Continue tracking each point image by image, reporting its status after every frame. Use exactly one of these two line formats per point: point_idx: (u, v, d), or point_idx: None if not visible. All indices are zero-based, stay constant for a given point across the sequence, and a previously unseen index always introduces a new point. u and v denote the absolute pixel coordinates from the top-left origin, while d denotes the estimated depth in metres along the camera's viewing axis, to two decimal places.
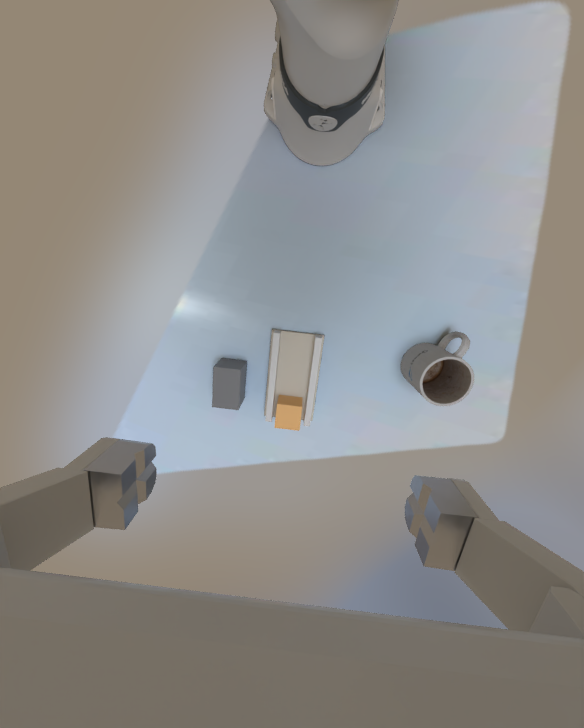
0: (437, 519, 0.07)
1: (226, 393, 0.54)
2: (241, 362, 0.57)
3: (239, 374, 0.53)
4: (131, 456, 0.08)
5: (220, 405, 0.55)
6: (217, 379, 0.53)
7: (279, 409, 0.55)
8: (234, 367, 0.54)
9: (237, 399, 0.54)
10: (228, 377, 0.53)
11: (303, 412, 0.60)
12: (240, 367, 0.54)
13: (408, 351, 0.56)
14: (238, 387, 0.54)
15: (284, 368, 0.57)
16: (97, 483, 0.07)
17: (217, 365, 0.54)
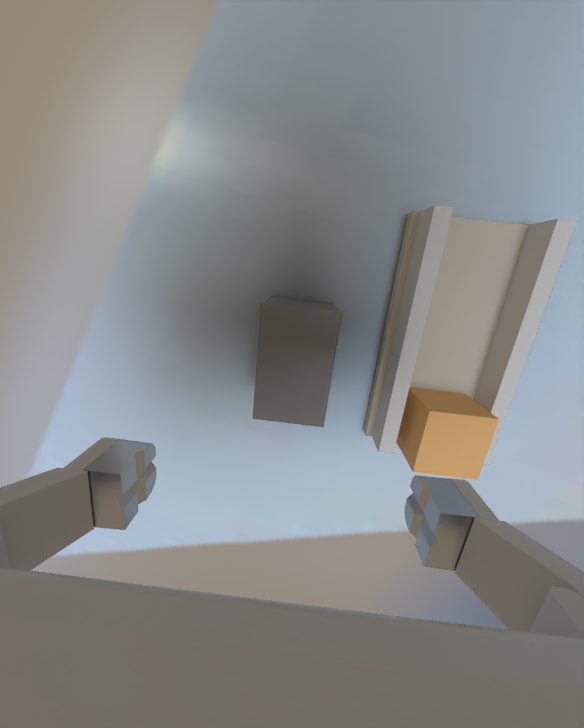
0: (437, 519, 0.07)
1: (294, 382, 0.20)
2: (322, 303, 0.22)
3: (336, 326, 0.18)
4: (131, 456, 0.08)
5: (276, 413, 0.20)
6: (269, 340, 0.19)
7: (435, 425, 0.20)
8: (319, 308, 0.19)
9: (323, 398, 0.20)
10: (302, 335, 0.19)
11: None
12: (333, 309, 0.19)
13: None
14: (329, 365, 0.19)
15: (431, 320, 0.23)
16: (97, 483, 0.07)
17: (270, 302, 0.19)
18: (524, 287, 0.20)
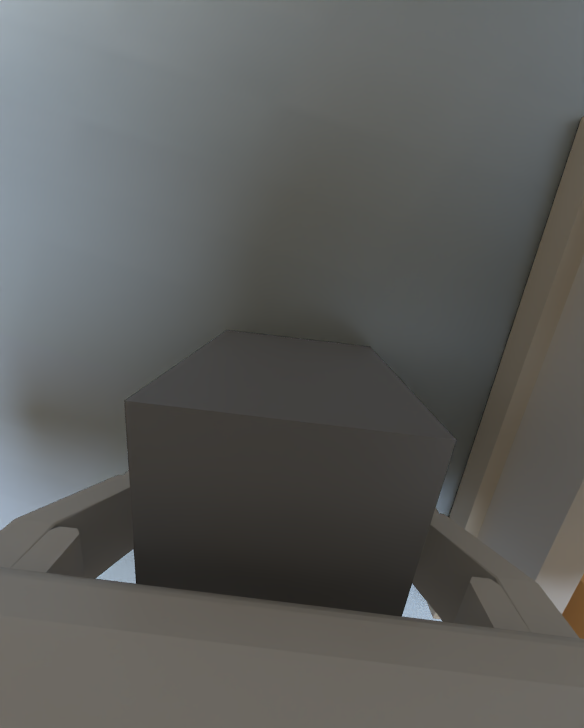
0: None
1: None
2: (350, 353, 0.09)
3: (427, 488, 0.05)
4: None
5: None
6: (173, 526, 0.05)
7: None
8: (359, 407, 0.05)
9: None
10: (296, 515, 0.05)
11: None
12: (403, 400, 0.06)
13: None
14: (392, 603, 0.05)
15: None
16: None
17: (180, 381, 0.05)
18: None
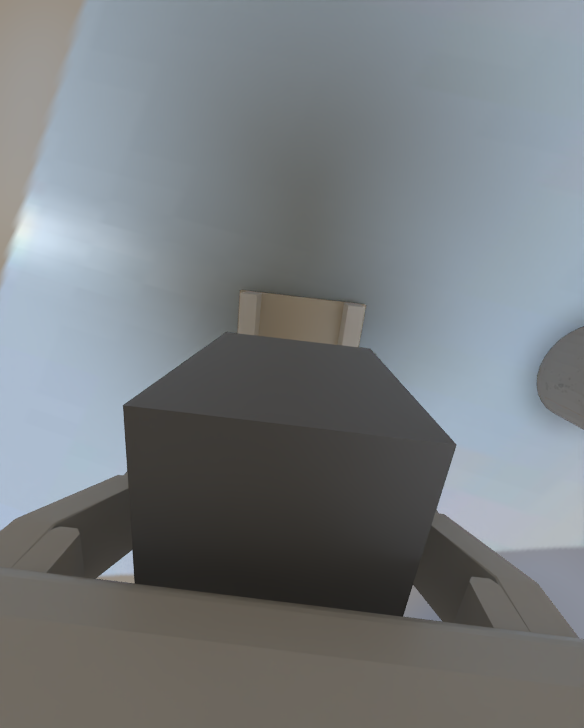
0: None
1: None
2: (350, 356, 0.09)
3: (427, 492, 0.05)
4: None
5: None
6: (172, 530, 0.05)
7: None
8: (358, 411, 0.05)
9: None
10: (295, 519, 0.05)
11: None
12: (402, 403, 0.06)
13: (565, 343, 0.23)
14: (392, 608, 0.05)
15: None
16: None
17: (179, 385, 0.05)
18: None
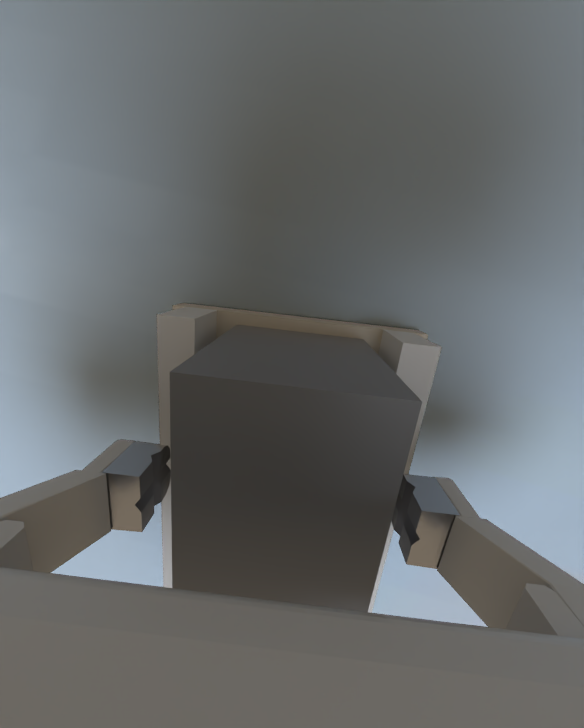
0: (419, 517, 0.07)
1: (276, 574, 0.07)
2: (345, 344, 0.10)
3: (401, 440, 0.06)
4: (148, 458, 0.08)
5: None
6: (203, 473, 0.06)
7: None
8: (349, 380, 0.06)
9: None
10: (299, 463, 0.06)
11: None
12: (385, 376, 0.07)
13: None
14: (376, 537, 0.07)
15: None
16: (115, 485, 0.07)
17: (207, 361, 0.07)
18: None
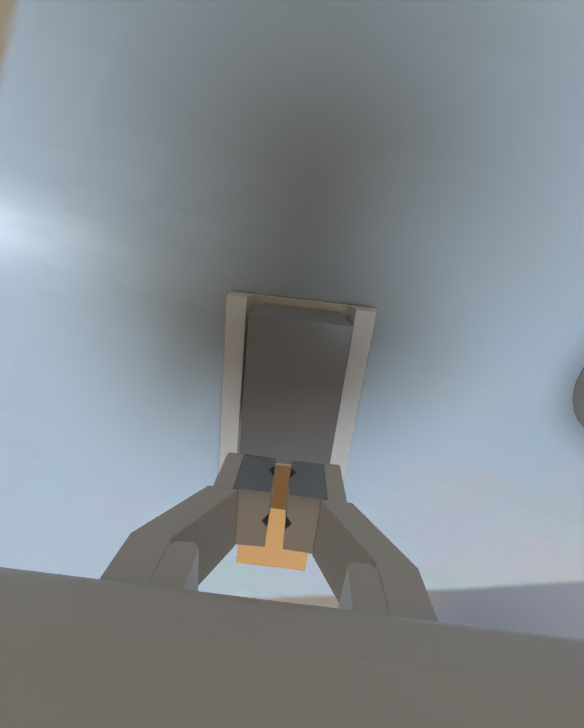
0: (288, 501, 0.07)
1: (291, 414, 0.15)
2: (327, 312, 0.18)
3: (345, 344, 0.14)
4: (268, 472, 0.08)
5: (268, 453, 0.16)
6: (260, 361, 0.15)
7: None
8: (324, 320, 0.15)
9: (328, 434, 0.16)
10: (302, 356, 0.14)
11: None
12: (342, 321, 0.15)
13: None
14: (337, 392, 0.15)
15: None
16: (245, 501, 0.07)
17: (260, 313, 0.15)
18: None
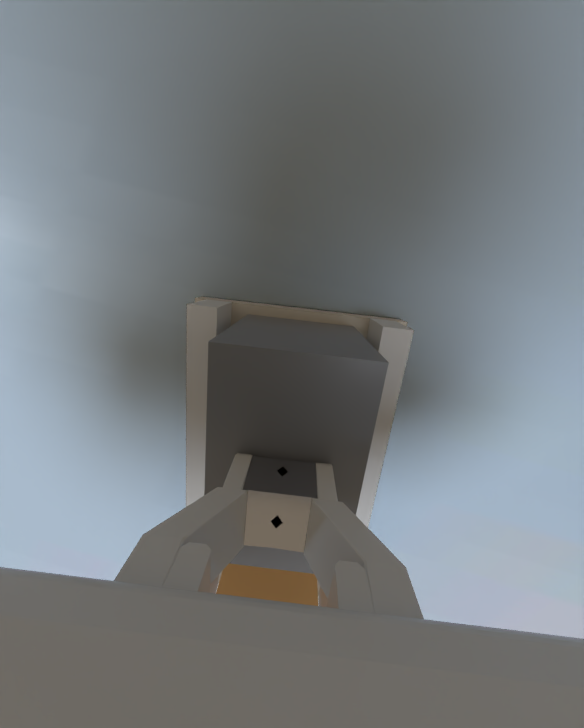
0: (279, 500, 0.07)
1: None
2: (337, 329, 0.12)
3: (374, 391, 0.08)
4: (276, 473, 0.08)
5: (248, 553, 0.10)
6: (230, 418, 0.09)
7: None
8: (337, 350, 0.09)
9: None
10: (301, 410, 0.09)
11: None
12: (365, 349, 0.09)
13: None
14: (358, 467, 0.09)
15: None
16: (255, 502, 0.07)
17: (232, 336, 0.09)
18: None
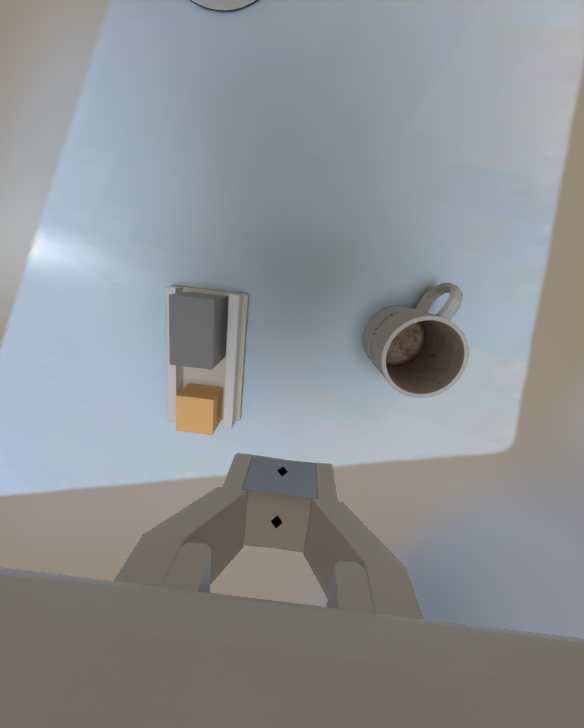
0: (279, 500, 0.07)
1: (192, 341, 0.33)
2: (218, 296, 0.36)
3: (212, 307, 0.32)
4: (276, 473, 0.08)
5: (183, 361, 0.34)
6: (175, 316, 0.32)
7: (180, 403, 0.37)
8: (204, 297, 0.32)
9: (210, 351, 0.33)
10: (194, 313, 0.32)
11: None
12: (214, 298, 0.33)
13: (373, 318, 0.38)
14: (211, 330, 0.33)
15: None
16: (255, 502, 0.07)
17: (176, 294, 0.33)
18: None
